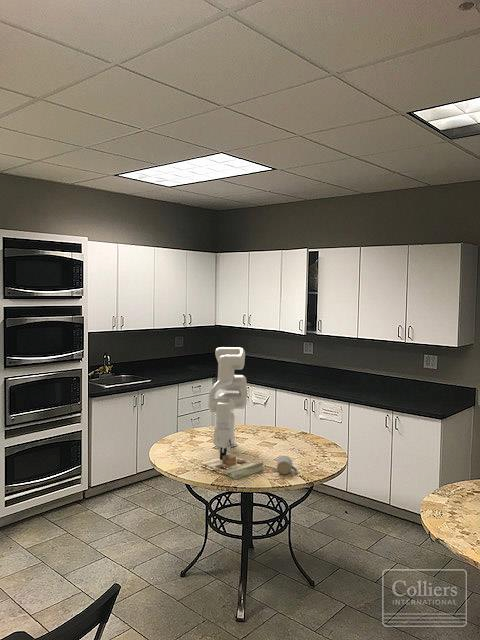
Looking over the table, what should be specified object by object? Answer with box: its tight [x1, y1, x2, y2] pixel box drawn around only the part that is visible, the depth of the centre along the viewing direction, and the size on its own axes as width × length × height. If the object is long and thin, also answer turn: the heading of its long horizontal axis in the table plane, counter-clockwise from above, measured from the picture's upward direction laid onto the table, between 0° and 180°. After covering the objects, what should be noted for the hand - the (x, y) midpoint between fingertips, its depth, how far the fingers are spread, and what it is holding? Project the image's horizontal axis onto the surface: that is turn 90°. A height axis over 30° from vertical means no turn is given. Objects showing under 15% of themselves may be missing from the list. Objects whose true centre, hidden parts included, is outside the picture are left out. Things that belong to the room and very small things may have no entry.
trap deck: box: [200, 456, 264, 479], centre depth 278 cm, size 26×20×4 cm
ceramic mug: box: [276, 455, 299, 475], centre depth 272 cm, size 11×8×8 cm
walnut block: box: [223, 453, 237, 466], centre depth 280 cm, size 5×5×4 cm
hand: (223, 459), depth 283 cm, fingers closed
